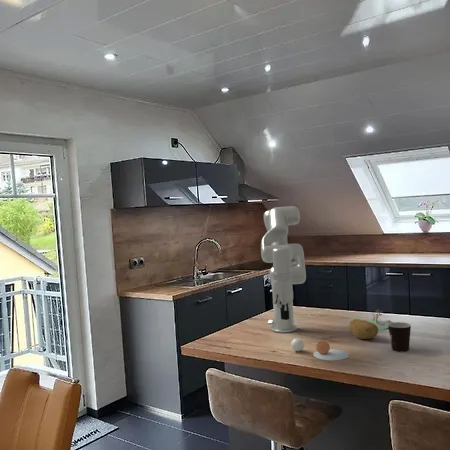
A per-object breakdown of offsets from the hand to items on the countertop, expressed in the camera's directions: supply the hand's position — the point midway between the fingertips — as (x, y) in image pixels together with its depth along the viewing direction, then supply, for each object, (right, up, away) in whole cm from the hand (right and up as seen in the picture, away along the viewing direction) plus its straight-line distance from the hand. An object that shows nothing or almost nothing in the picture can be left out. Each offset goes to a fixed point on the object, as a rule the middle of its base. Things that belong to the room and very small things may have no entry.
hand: (285, 319), depth 203 cm
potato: (+36, -10, +7) cm, 38 cm away
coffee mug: (+46, -10, -10) cm, 48 cm away
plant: (+46, -9, +32) cm, 57 cm away
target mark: (+17, -12, -12) cm, 24 cm away
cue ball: (+5, -10, -5) cm, 12 cm away
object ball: (+14, -9, -10) cm, 20 cm away
